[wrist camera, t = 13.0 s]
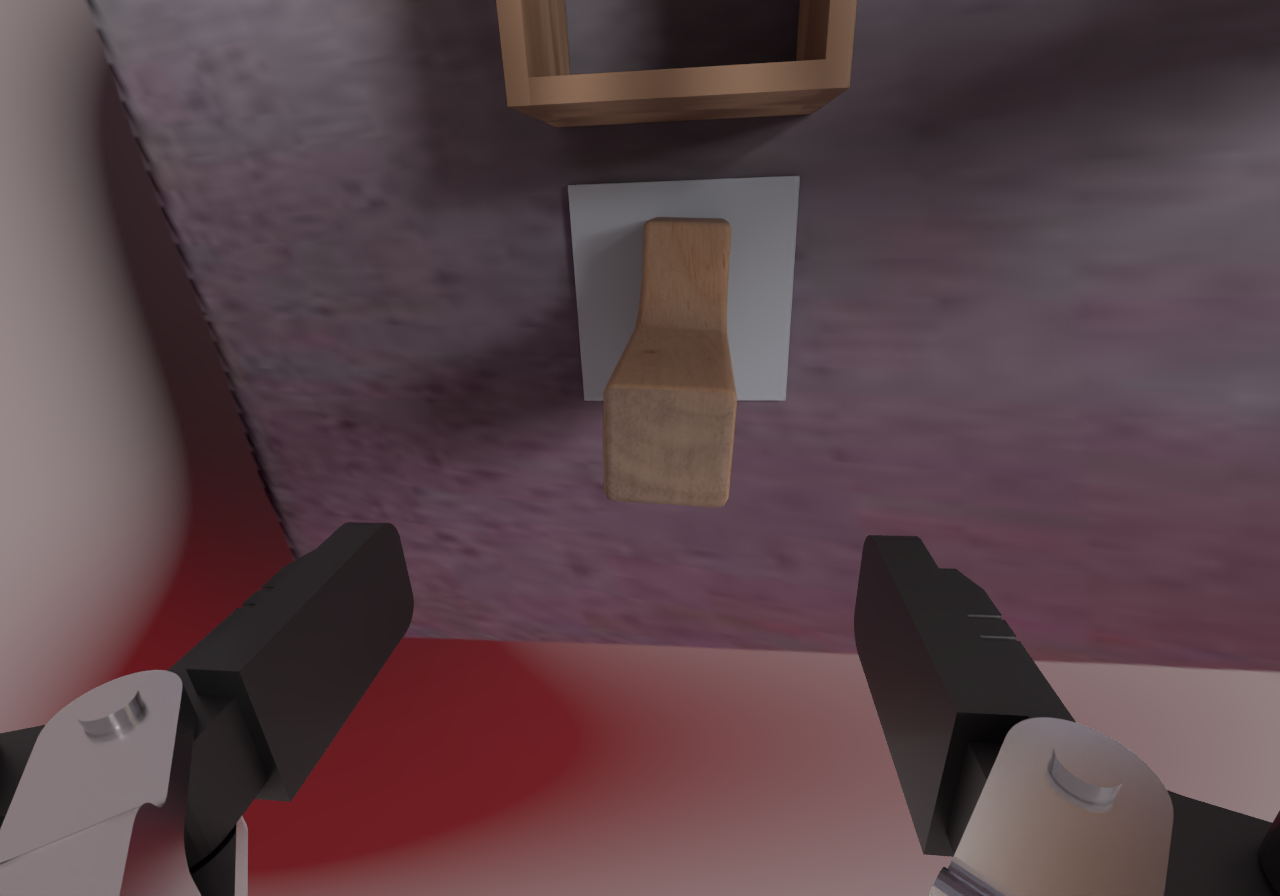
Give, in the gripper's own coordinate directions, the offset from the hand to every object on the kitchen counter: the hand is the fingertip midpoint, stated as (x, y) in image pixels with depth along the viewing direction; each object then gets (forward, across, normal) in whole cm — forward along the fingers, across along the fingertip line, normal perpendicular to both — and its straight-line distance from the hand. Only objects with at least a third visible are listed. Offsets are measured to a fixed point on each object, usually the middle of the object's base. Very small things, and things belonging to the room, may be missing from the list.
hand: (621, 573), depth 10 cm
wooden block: (+28, 0, 0) cm, 28 cm away
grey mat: (+29, 0, 0) cm, 29 cm away
